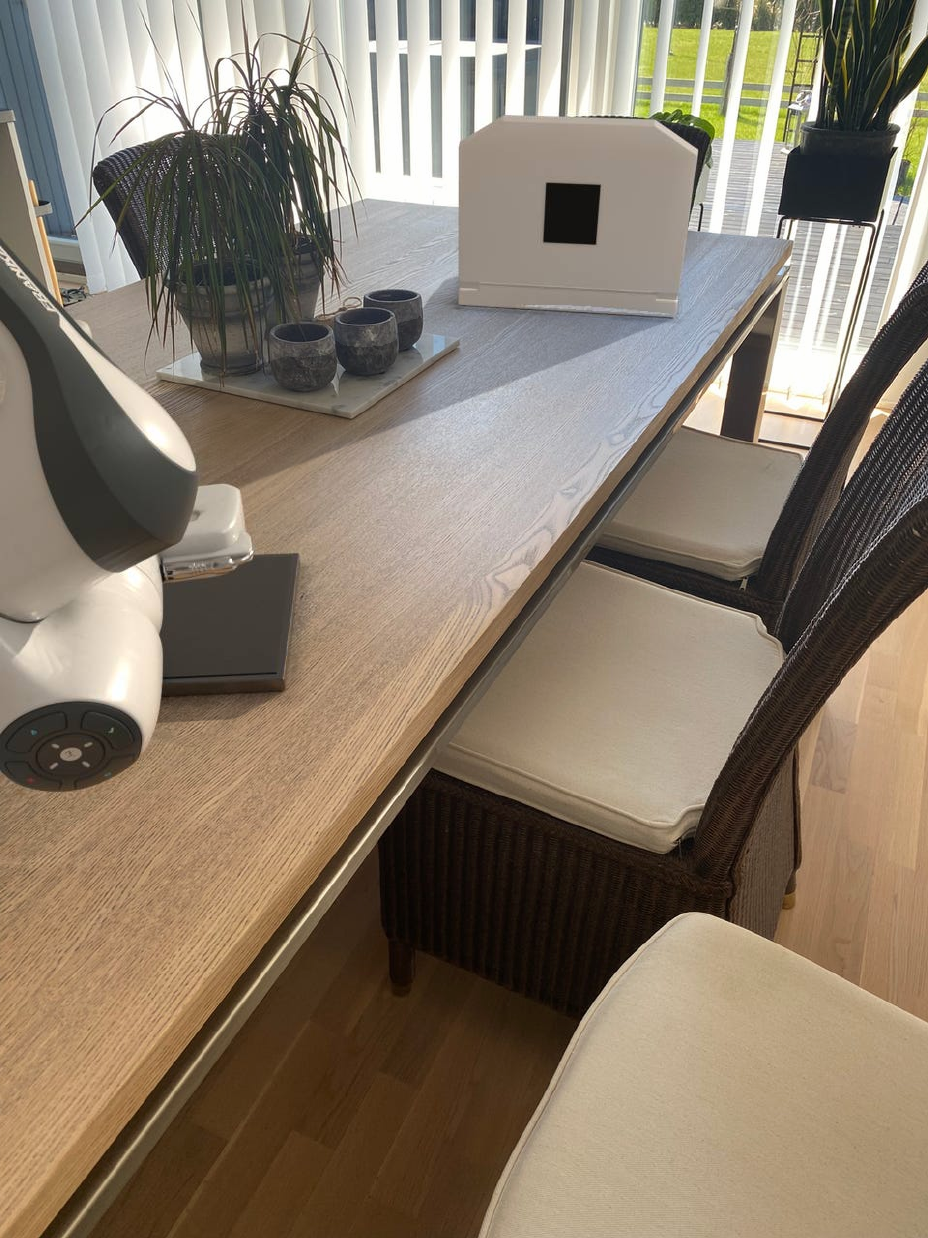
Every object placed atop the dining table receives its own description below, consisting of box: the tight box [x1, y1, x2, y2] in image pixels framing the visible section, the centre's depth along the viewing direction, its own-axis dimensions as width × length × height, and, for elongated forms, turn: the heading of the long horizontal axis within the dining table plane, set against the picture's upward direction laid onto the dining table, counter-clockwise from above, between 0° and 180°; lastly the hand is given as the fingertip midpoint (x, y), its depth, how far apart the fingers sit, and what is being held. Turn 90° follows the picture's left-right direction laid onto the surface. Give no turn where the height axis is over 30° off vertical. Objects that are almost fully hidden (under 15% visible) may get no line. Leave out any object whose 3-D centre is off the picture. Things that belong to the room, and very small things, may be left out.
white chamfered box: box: [458, 114, 699, 318], centre depth 147 cm, size 33×24×26 cm
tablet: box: [159, 552, 301, 697], centre depth 77 cm, size 14×18×1 cm
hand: (101, 488), depth 71 cm, fingers closed on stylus, 3 cm apart
